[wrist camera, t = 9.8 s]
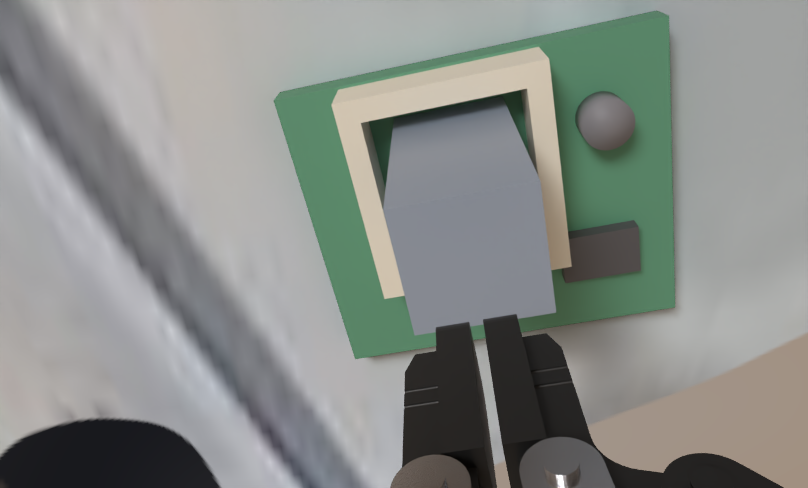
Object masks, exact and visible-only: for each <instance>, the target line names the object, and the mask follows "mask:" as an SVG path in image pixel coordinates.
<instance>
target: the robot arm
mask: <svg viewBox="0 0 808 488" xmlns="http://www.w3.org/2000/svg"><path fill="white" fill-rule="evenodd" d="M483 324H484V330H485V337H486V343H487V350H488V356H489V362H490V369H491V375H492V381H493V388H494V394H495V401H496V407H497V413H498V420H499V426H500V432H501V439H502V445H503V450H504V455H505V460H506V465H507V471H508V476H509V480H510V485H511V488H783V487H782V486H780V485H778V484H776V483H774V482H772V481H771V480H769V479H767V478H765V477H763V476H761V475H760V474H758V473H756V472H754V471H752V470H750V469H749V468H747V467H745V466H743V465H741V464H739V463H738V462H736V461H733V460H731V459H729V458H726V457H723V456H720V455H715V454H707V453H697V454H689V455H686V456H682V457H680V458H678V459H676V460H674V461H673V462H672V463H670V464H669V466H668V467H667V468H666V469H665V471H664V473H659V472H652V471H644V470H637V469H631V468H628V467H625V466H622V465H620V464H618V463H615V462H613V461H612V460H610V459H608V458H607V457H605V456H604V455H603V454H602V453H601V452H600V451H599V450H598V449H597V448H596V446H595V445H594V443H593V441H592V439H591V436H590V434H589V430H588V427H587V424H586V421H585V418H584V415H583V412H582V409H581V406H580V402H579V399H578V396H577V393H576V390H575V387H574V384H573V382H572V378H571V375H570V372H569V369H568V366H567V363H566V360H565V357H564V354H563V350H562V347H561V346H560V345H558V344H557V343H556V342H555V341H554V340H553V339H552V338H551V337H550V336H549V335H547V334H539V335H533V336H527V337H522V334H521V330H520V326H519V322H518V318H517V314H512V315H506V316H500V317H494V318H488V319H483ZM404 407H405V409H404V429H403V464H402V468H401V469H400V470H399V472H398V473H397V474H396V476H395V477H394V479H393V481H392V483H391V487H390V488H497V485H496V478H495V470H494V463H493V456H492V448H491V441H490V433H489V426H488V419H487V411H486V404H485V398H484V392H483V386H482V381H481V376H480V371H479V366H478V361H477V356H476V351H475V346H474V342H473V337H472V332H471V327H470V323H469V322H465V323H459V324H453V325H447V326H441V327H436V351H435V352H428V353H422V354H416V355H415V356H414V358H413V359H412V361H411V363H410V365H409V366H408V368H407V370H406V372H405V395H404Z"/></svg>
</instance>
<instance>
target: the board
mask: <svg viewBox="0 0 808 488" xmlns="http://www.w3.org/2000/svg"><path fill="white" fill-rule="evenodd" d="M497 97H503V99H504V101H505V103H506V105H507V108H508V110H509V112H510V114H511V117H512V119H513V121H514V123H515V125H516V128H517V130H518V132H519V134H520V137H521V139H522V141H523V143H524V145H525V148H526V150H527V152H528V154H529V157H530V159H531V161H532V163H533V165H534V168H535V170H536V172H537V174H538V177H539V179H540V182H541V190H542V198H543V207H544V215H545V223H546V231H547V240H548V248H549V256H550V264H551V272H552V281H553V289H554V297H555V305H556V313H551V314H545V315H539V316H533V317H526V318H520V319H518V322H519V326H520V330H521V332H526V331H532V330H538V329H544V328H550V327H557V326H563V325H569V324H575V323H581V322H587V321H594V320H600V319H606V318H612V317H618V316H624V315H631V314H637V313H643V312H649V311H655V310H661V309H668V308H674V307H675V279H674V233H673V186H672V140H671V93H670V47H669V16H668V15H666V14H664V13H661V12H659V11H653V12H649V13H644V14H640V15H635V16H630V17H626V18H621V19H616V20H612V21H607V22H603V23H598V24H593V25H589V26H584V27H579V28H575V29H570V30H566V31H561V32H556V33H552V34H547V35H542V36H538V37H533V38H529V39H524V40H519V41H515V42H510V43H506V44H501V45H496V46H492V47H487V48H482V49H478V50H473V51H469V52H464V53H459V54H455V55H450V56H445V57H441V58H436V59H432V60H427V61H422V62H418V63H413V64H408V65H404V66H399V67H395V68H390V69H385V70H381V71H376V72H371V73H367V74H362V75H358V76H353V77H348V78H344V79H339V80H335V81H330V82H325V83H321V84H316V85H311V86H307V87H302V88H298V89H293V90H288V91H284V92H280V93H279V94H278V96H277V97H276V98H275V100H274V103H275V106H276V109H277V113H278V116H279V119H280V122H281V125H282V128H283V132H284V135H285V138H286V141H287V144H288V147H289V151H290V154H291V157H292V160H293V163H294V166H295V170H296V173H297V176H298V179H299V182H300V185H301V189H302V192H303V195H304V198H305V201H306V204H307V208H308V211H309V214H310V217H311V220H312V223H313V227H314V230H315V233H316V236H317V239H318V242H319V246H320V249H321V252H322V255H323V258H324V261H325V265H326V268H327V271H328V274H329V277H330V280H331V284H332V287H333V290H334V293H335V296H336V299H337V303H338V306H339V309H340V312H341V315H342V318H343V322H344V325H345V328H346V331H347V334H348V337H349V341H350V344H351V347H352V350H353V353H354V356H355V359H359V358H365V357H372V356H378V355H384V354H390V353H396V352H402V351H409V350H415V349H421V348H427V347H433V346H436V332H434V333H427V334H421V335H414V331H413V327H412V323H411V319H410V315H409V311H408V307H407V303H406V299H405V295H404V291H403V287H402V283H401V279H400V275H399V271H398V267H397V263H396V259H395V255H394V251H393V247H392V243H391V239H390V235H389V231H388V227H387V223H386V219H385V215H384V211H383V207H384V198H385V190H386V181H387V173H388V164H389V156H390V148H391V139H392V131H393V122H394V118H399V117H403V116H408V115H413V114H418V113H423V112H428V111H433V110H438V109H443V108H448V107H453V106H458V105H463V104H468V103H473V102H477V101H482V100H487V99H492V98H497ZM471 332H472V337H473V340H476V339H483V338H486V337H485V330H484V324H483V325H477V326H471Z"/></svg>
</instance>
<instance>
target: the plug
mask: <svg viewBox="0 0 808 488" xmlns="http://www.w3.org/2000/svg"><path fill="white" fill-rule="evenodd" d="M383 211H384V215H385V219H386V223H387V227H388V231H389V235H390V239H391V243H392V247H393V251H394V255H395V259H396V263H397V267H398V271H399V275H400V279H401V283H402V287H403V291H404V295H405V299H406V303H407V307H408V311H409V315H410V319H411V323H412V327H413V331H414V335H421V334H427V333H434V332H436V327H441V326H447V325H453V324H459V323H465V322H469V323H470V327H471V326H477V325H483V319H488V318H494V317H500V316H506V315H512V314H517V318H518V319H520V318H526V317H533V316H539V315H545V314H551V313H556V305H555V297H554V289H553V281H552V272H551V264H550V256H549V248H548V240H547V231H546V223H545V215H544V207H543V198H542V190H541V182H540V179H539V177H538V174H537V172H536V170H535V168H534V165H533V163H532V161H531V159H530V157H529V154H528V152H527V150H526V148H525V145H524V143H523V141H522V139H521V137H520V134H519V132H518V130H517V128H516V125H515V123H514V121H513V119H512V117H511V114H510V112H509V110H508V108H507V105H506V103H505V101H504V99H503V97H497V98H492V99H487V100H482V101H477V102H473V103H468V104H463V105H458V106H453V107H448V108H443V109H438V110H433V111H428V112H423V113H418V114H413V115H408V116H403V117H399V118H394V122H393V131H392V139H391V148H390V156H389V164H388V173H387V181H386V190H385V198H384V207H383Z"/></svg>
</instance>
